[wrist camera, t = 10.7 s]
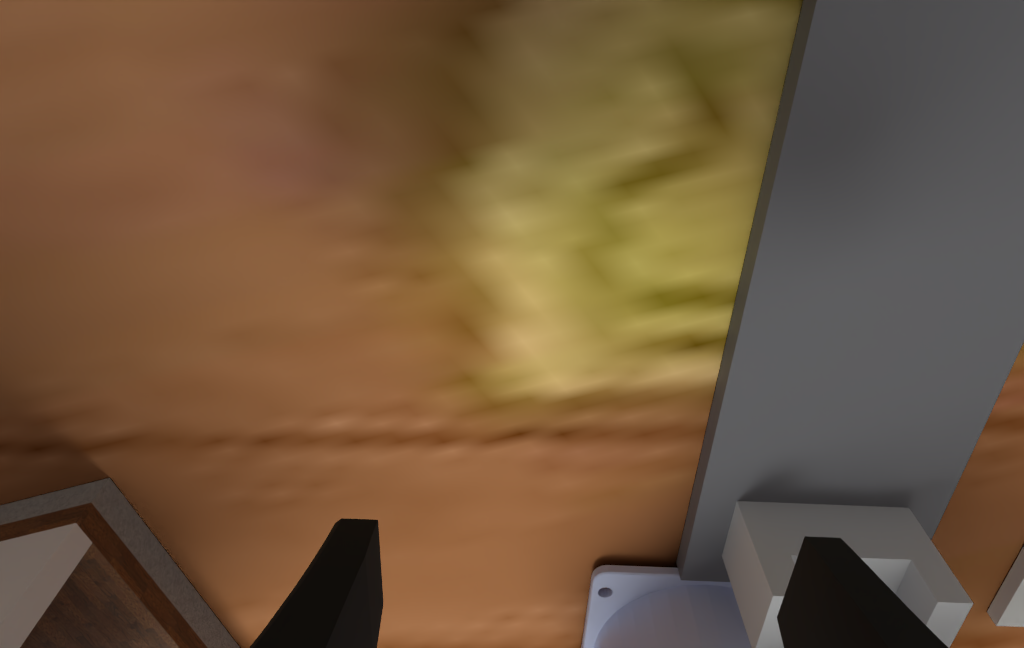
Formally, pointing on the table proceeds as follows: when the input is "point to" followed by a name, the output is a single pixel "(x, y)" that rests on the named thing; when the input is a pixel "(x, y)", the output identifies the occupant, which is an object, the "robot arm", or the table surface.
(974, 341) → the rack
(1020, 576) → the mat
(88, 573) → the display case
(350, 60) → the table surface
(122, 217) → the table surface
